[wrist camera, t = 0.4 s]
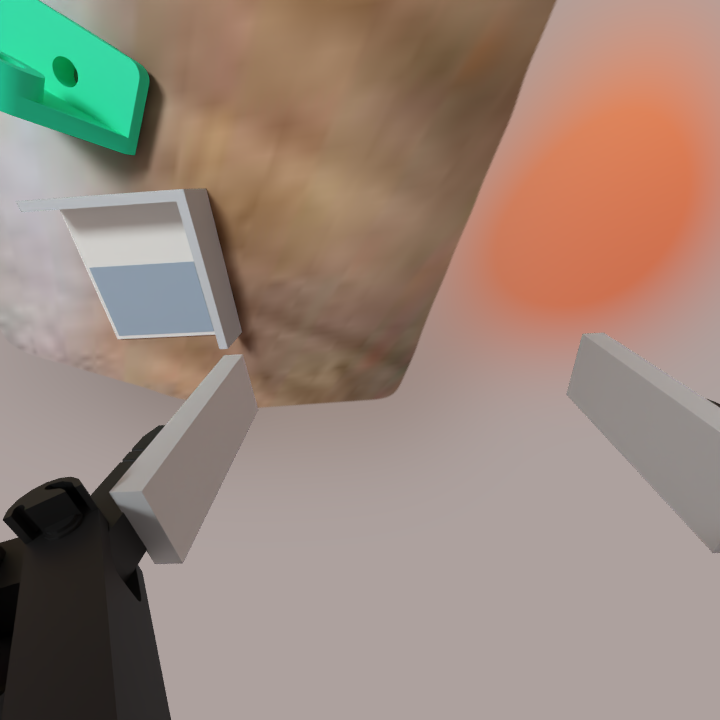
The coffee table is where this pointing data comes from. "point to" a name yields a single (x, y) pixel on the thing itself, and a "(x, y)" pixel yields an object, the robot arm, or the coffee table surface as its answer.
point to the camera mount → (68, 77)
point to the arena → (152, 261)
